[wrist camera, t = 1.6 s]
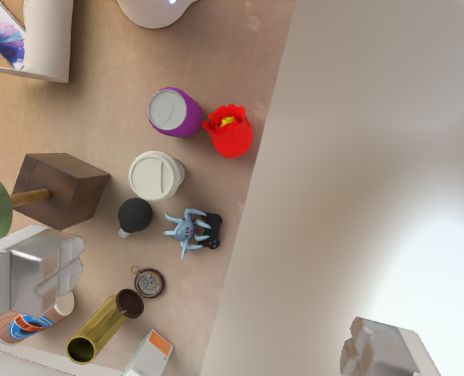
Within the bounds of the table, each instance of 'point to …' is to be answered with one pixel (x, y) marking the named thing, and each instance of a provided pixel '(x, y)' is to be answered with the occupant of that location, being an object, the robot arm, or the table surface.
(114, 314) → the vase
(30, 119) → the table surface
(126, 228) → the light bulb
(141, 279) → the compass
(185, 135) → the beverage can
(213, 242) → the figurine
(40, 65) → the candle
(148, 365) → the cosmetic box
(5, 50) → the smartphone
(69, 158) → the lamp
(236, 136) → the flower
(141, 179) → the coffee cup
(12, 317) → the coffee cup
